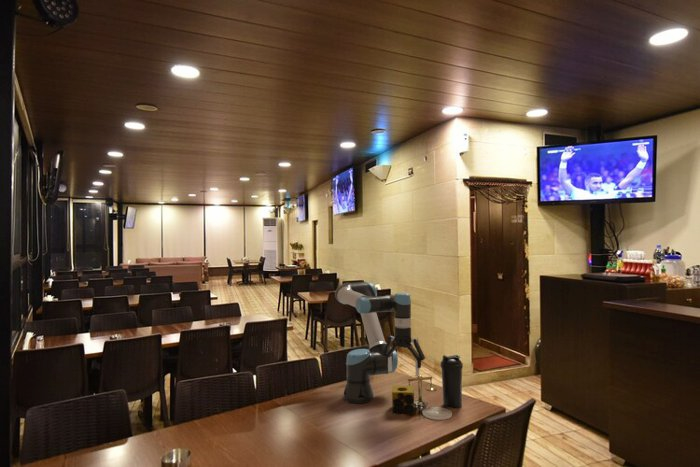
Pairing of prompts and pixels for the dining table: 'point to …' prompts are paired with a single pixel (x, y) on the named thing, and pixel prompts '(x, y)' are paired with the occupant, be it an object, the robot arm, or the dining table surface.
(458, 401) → the water bottle
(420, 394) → the balance
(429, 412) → the dish
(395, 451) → the dining table surface
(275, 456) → the dining table surface
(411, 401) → the candle
